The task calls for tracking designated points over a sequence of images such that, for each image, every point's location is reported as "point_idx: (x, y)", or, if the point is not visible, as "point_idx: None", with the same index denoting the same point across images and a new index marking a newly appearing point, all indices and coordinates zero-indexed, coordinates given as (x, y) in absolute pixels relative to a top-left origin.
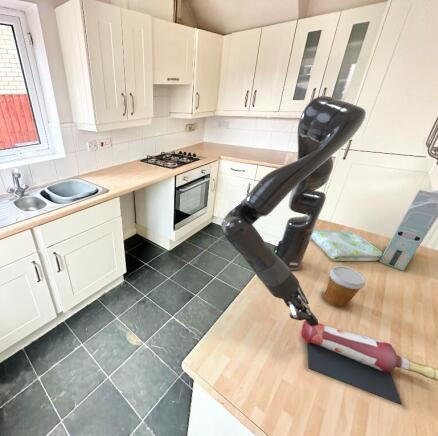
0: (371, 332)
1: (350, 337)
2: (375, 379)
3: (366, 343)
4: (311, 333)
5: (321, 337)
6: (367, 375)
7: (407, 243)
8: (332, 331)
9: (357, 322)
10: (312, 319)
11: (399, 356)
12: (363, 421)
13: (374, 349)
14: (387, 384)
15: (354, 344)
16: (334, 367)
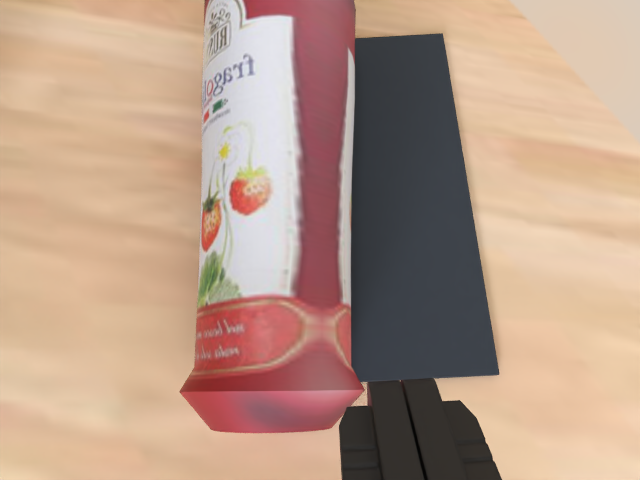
0: (84, 73)
1: (280, 140)
2: (378, 95)
3: (290, 63)
4: (346, 386)
5: (336, 315)
6: (374, 120)
7: None
8: (275, 243)
9: (34, 120)
10: (475, 472)
11: None
12: (617, 163)
13: (314, 34)
14: (376, 60)
15: (318, 127)
16: (415, 248)
